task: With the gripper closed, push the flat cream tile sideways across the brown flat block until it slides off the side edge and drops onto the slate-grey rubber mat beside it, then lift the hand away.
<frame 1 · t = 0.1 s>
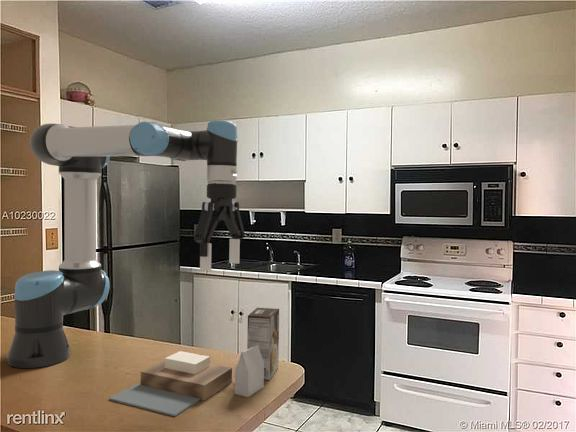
hand: (220, 266, 120), 28 cm above the countertop, tool pointing down, fingers open, 13 cm apart
tile: (187, 367, 116), point 3 cm above the countertop, touching brown flat block
brown flat block: (186, 383, 114), on the countertop
tea bag: (249, 391, 111), on the countertop
coffee box: (262, 373, 123), on the countertop
mat: (154, 400, 105), on the countertop
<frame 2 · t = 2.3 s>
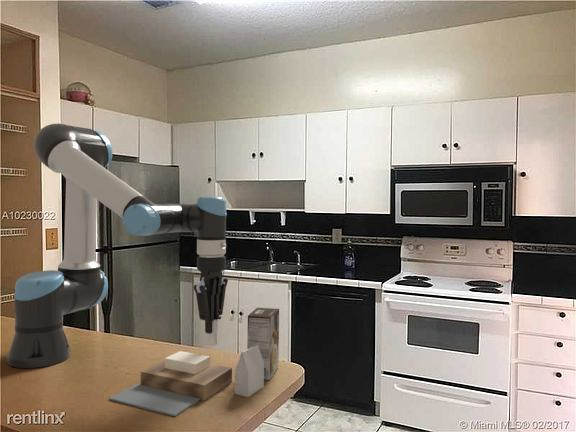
hand: (211, 344, 125), 6 cm above the countertop, tool pointing down, fingers closed
nothing on the countertop moved.
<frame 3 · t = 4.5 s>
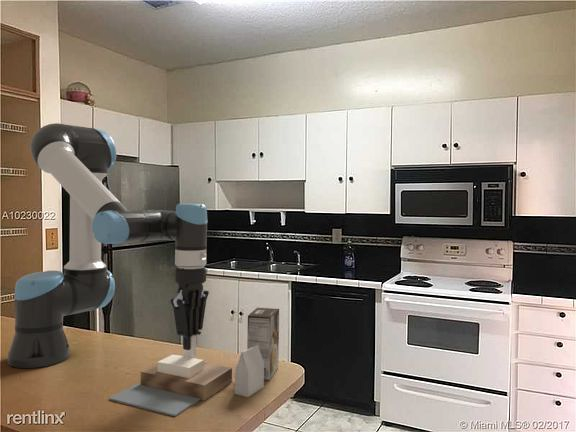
hand: (189, 361, 117), 5 cm above the countertop, tool pointing down, fingers closed
tile: (180, 370, 113), point 4 cm above the countertop, touching gripper
everything else where it was.
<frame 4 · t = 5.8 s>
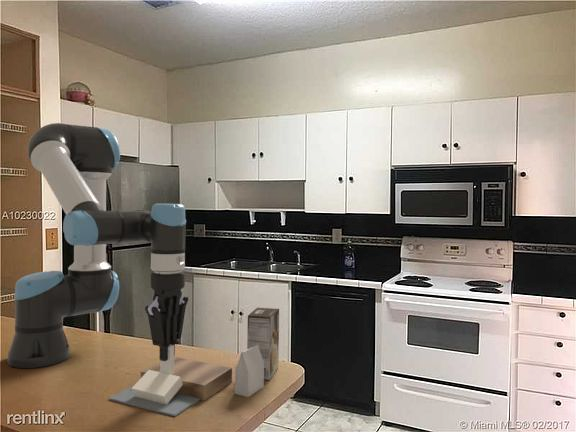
hand: (167, 372, 108), 5 cm above the countertop, tool pointing down, fingers closed
tile: (158, 390, 106), point 2 cm above the countertop, tilted 23°
everything else where it was.
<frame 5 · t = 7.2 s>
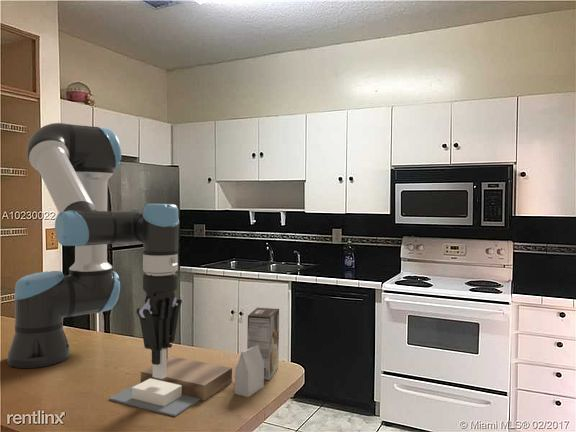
hand: (159, 376, 106), 5 cm above the countertop, tool pointing down, fingers closed
tile: (157, 396, 106), resting on mat
everything else where it was.
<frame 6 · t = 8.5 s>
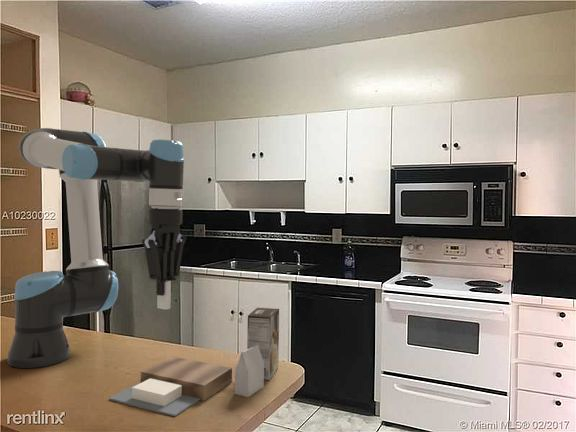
hand: (163, 308, 110), 19 cm above the countertop, tool pointing down, fingers closed
nothing on the countertop moved.
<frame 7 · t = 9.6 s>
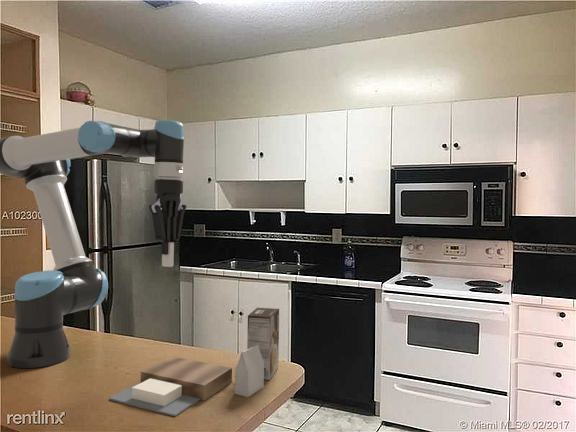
hand: (167, 266, 128), 26 cm above the countertop, tool pointing down, fingers closed
nothing on the countertop moved.
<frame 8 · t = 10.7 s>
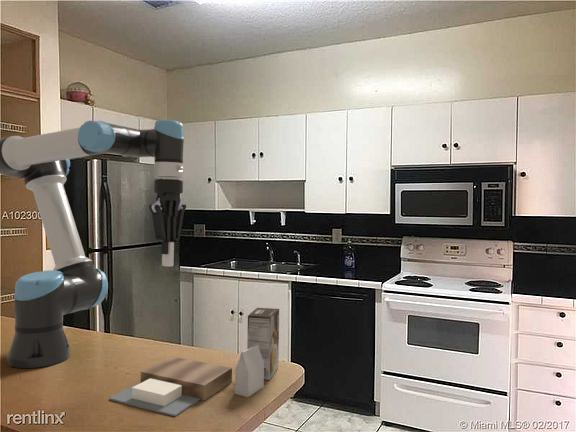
hand: (167, 265, 128), 26 cm above the countertop, tool pointing down, fingers closed
nothing on the countertop moved.
at the end: tile inside the target area (0.9 cm from its centre), resting on mat; tile touching mat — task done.
